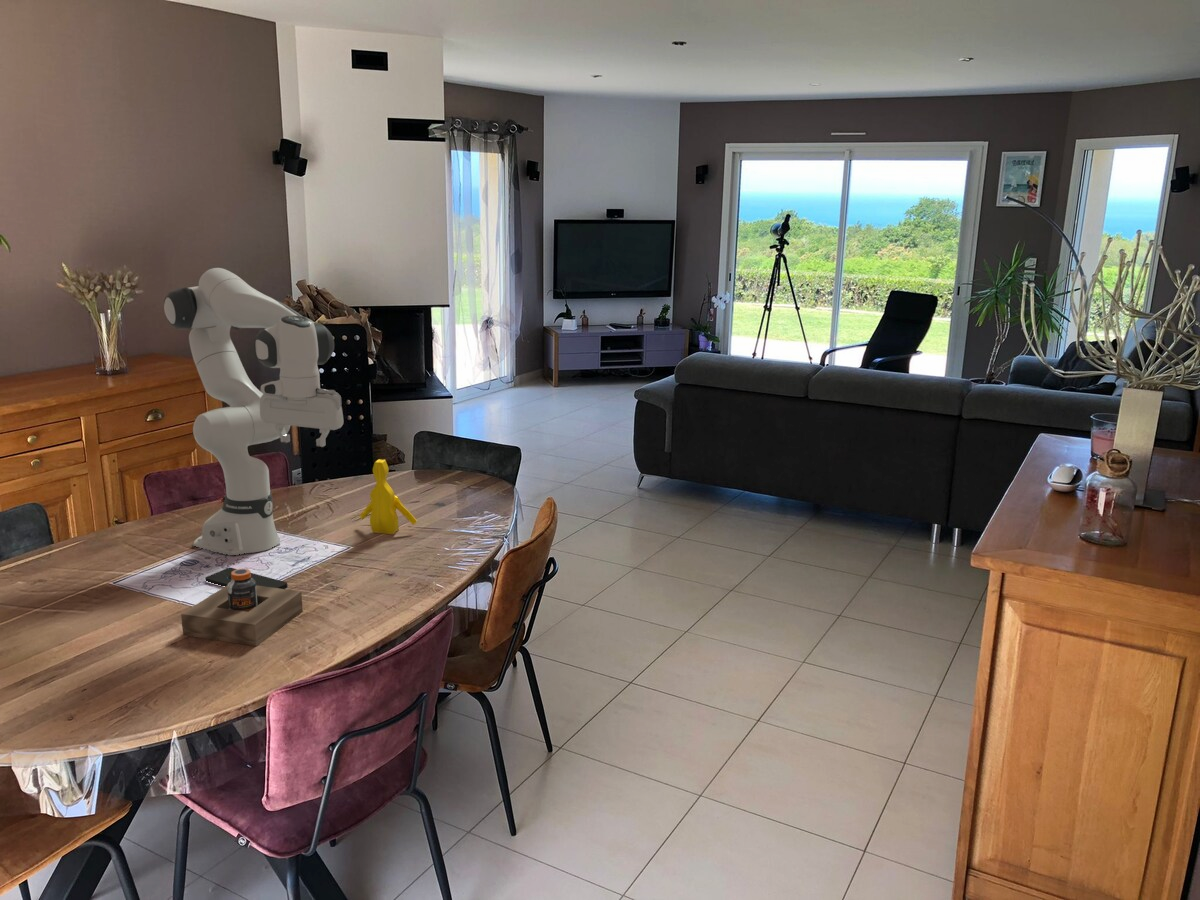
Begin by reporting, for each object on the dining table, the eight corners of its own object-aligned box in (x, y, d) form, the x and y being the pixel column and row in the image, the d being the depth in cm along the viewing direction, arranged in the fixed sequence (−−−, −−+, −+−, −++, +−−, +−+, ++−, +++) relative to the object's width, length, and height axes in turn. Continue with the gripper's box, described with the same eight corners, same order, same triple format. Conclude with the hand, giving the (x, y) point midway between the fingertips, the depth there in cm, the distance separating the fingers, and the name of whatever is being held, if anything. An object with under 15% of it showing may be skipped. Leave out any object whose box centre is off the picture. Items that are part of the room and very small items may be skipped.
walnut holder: (183, 635, 199) (180, 613, 198) (234, 601, 216) (232, 582, 215) (256, 646, 195) (254, 624, 194) (302, 611, 212) (301, 591, 211)
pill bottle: (231, 626, 202) (227, 578, 199) (228, 615, 207) (224, 568, 204) (260, 621, 204) (256, 574, 201) (256, 610, 209) (252, 564, 206)
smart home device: (229, 566, 234) (289, 581, 225) (230, 572, 234) (289, 588, 226) (203, 577, 226) (263, 593, 218) (203, 583, 227) (263, 600, 218)
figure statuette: (420, 530, 266) (418, 457, 260) (409, 539, 259) (407, 464, 253) (363, 524, 269) (360, 452, 264) (351, 533, 262) (347, 459, 256)
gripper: (347, 388, 214) (349, 445, 218) (270, 380, 219) (273, 436, 223) (333, 393, 209) (335, 451, 212) (254, 385, 213) (257, 443, 217)
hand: (303, 444), depth 218 cm, fingers open, 8 cm apart
